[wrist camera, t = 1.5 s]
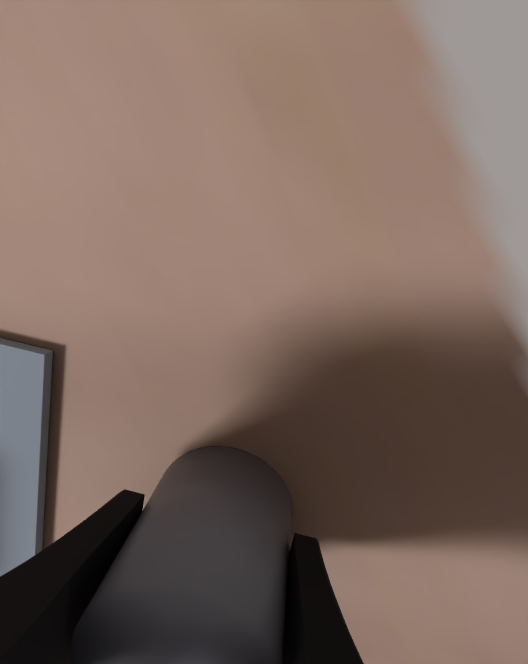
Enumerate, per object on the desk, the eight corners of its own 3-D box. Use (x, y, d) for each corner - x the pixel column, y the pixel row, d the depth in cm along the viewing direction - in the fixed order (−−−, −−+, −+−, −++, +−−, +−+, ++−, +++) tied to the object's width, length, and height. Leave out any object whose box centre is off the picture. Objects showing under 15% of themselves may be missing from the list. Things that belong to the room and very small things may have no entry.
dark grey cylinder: (276, 576, 14) (256, 770, 9) (150, 543, 14) (64, 715, 9) (306, 465, 12) (302, 622, 8) (167, 431, 13) (78, 562, 8)
